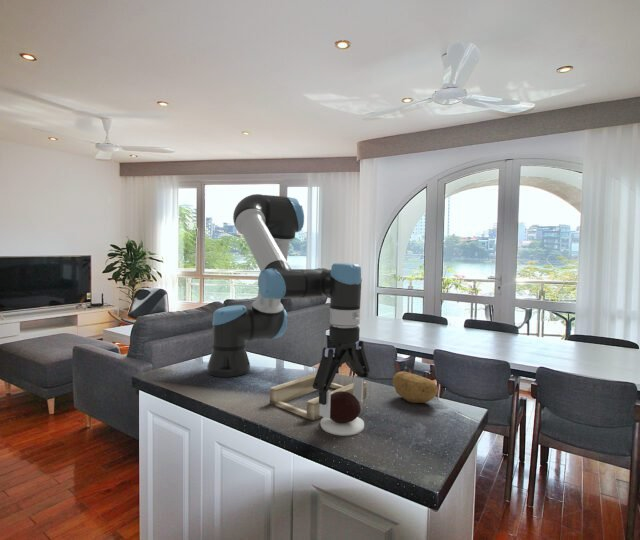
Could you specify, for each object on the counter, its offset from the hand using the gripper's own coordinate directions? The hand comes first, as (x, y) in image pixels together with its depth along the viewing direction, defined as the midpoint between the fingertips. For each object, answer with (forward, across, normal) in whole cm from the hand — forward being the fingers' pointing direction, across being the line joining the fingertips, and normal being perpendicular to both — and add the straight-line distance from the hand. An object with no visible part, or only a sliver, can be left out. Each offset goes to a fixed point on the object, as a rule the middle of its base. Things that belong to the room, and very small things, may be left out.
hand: (342, 408), depth 98 cm
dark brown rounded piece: (+4, 0, 0) cm, 4 cm away
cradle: (+4, +9, +15) cm, 18 cm away
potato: (+5, +28, -6) cm, 29 cm away
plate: (+4, 0, 0) cm, 4 cm away
